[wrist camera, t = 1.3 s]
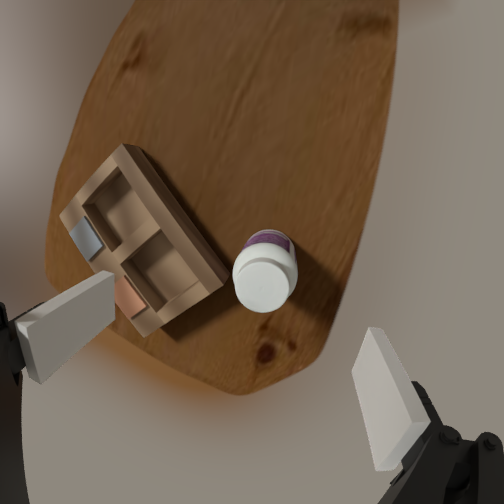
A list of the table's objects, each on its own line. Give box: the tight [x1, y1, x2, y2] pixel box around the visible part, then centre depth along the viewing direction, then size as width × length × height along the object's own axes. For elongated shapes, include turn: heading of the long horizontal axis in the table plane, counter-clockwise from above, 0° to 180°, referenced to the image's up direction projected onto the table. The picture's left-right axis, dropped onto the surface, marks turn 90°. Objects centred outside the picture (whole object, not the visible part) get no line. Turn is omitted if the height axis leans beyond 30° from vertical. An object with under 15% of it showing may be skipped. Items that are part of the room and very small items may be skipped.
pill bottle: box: [233, 230, 298, 313], centre depth 26 cm, size 5×5×10 cm
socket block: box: [60, 144, 230, 338], centre depth 30 cm, size 12×18×4 cm
